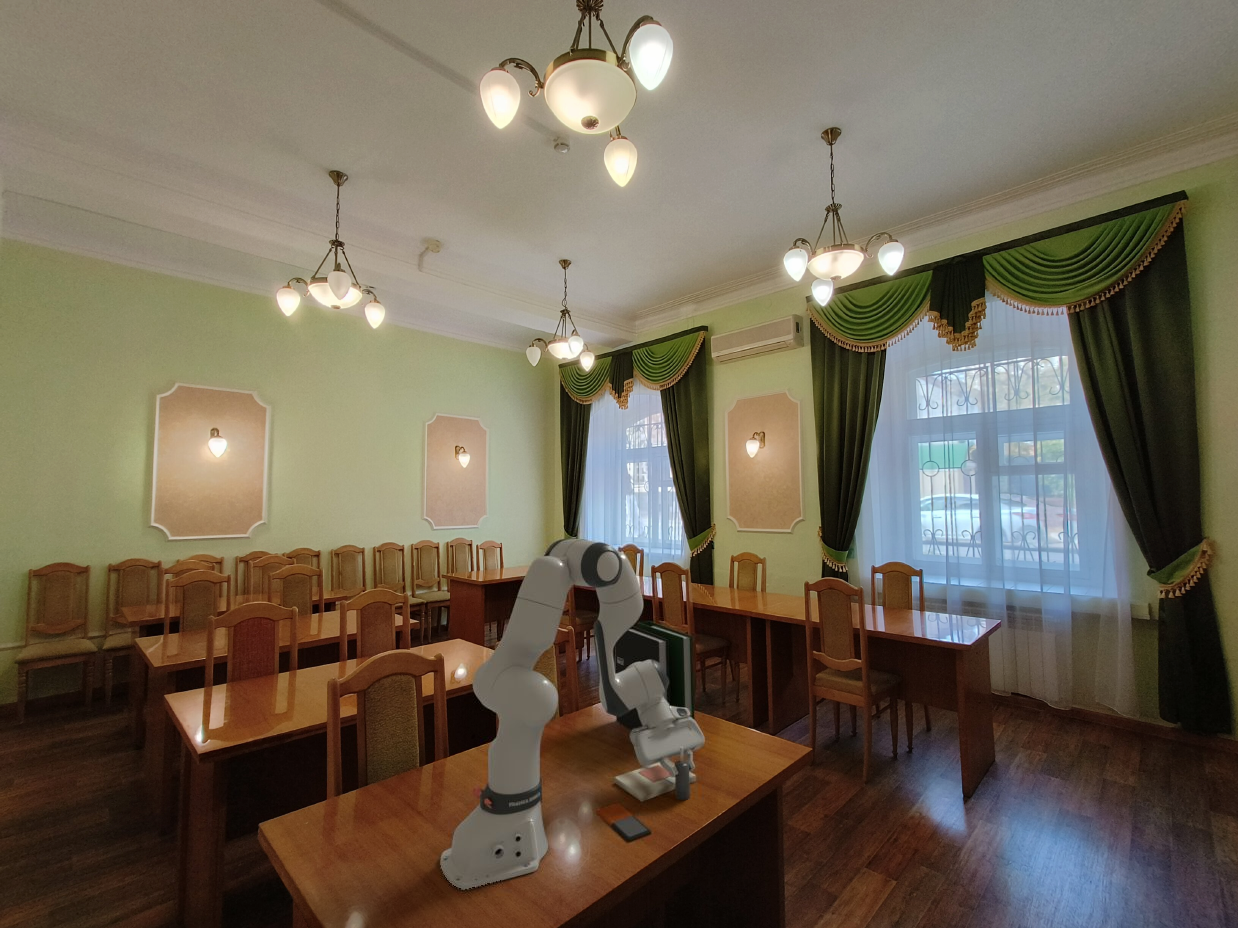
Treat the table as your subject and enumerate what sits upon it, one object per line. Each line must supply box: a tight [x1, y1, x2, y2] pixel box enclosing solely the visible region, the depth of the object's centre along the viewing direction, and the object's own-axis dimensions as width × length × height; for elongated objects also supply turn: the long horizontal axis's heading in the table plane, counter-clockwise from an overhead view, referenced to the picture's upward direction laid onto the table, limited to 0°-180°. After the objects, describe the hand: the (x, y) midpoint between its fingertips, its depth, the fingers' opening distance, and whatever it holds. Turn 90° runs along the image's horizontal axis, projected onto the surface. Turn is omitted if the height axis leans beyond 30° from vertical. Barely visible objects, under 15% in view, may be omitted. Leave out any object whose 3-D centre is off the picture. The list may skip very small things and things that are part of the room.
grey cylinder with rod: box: [674, 747, 691, 801], centre depth 147 cm, size 4×4×12 cm
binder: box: [614, 620, 696, 732], centre depth 191 cm, size 27×15×32 cm, turn 28°
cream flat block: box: [614, 759, 697, 802], centre depth 155 cm, size 18×12×2 cm, turn 124°
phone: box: [596, 802, 652, 843], centre depth 136 cm, size 6×1×15 cm
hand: (683, 772), depth 147 cm, fingers open, 4 cm apart
